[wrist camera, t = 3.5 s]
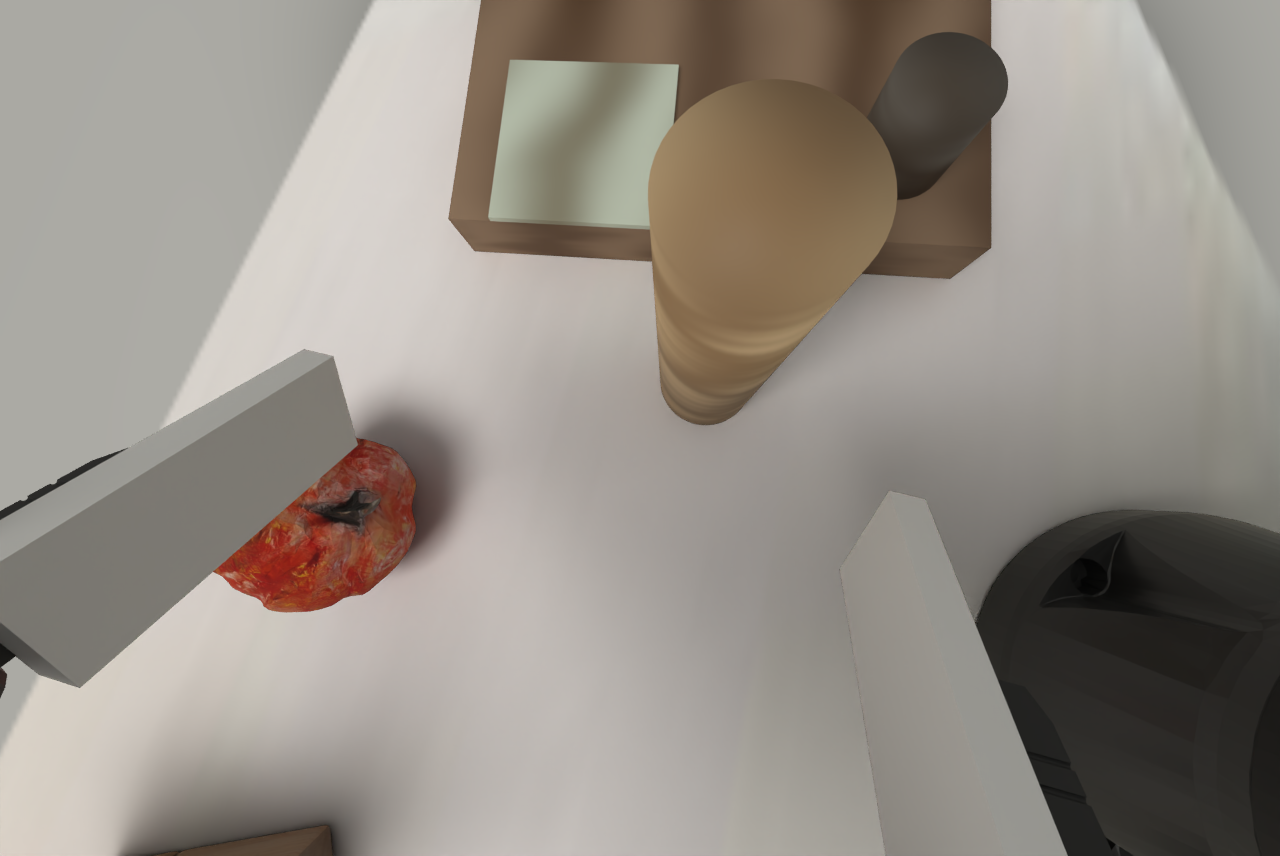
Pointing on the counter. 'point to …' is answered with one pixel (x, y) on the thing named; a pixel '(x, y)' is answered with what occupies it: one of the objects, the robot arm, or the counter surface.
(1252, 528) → the robot arm
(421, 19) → the counter surface
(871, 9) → the wooden board with knobs
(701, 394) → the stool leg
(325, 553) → the pomegranate
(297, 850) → the brown wooden angled piece
